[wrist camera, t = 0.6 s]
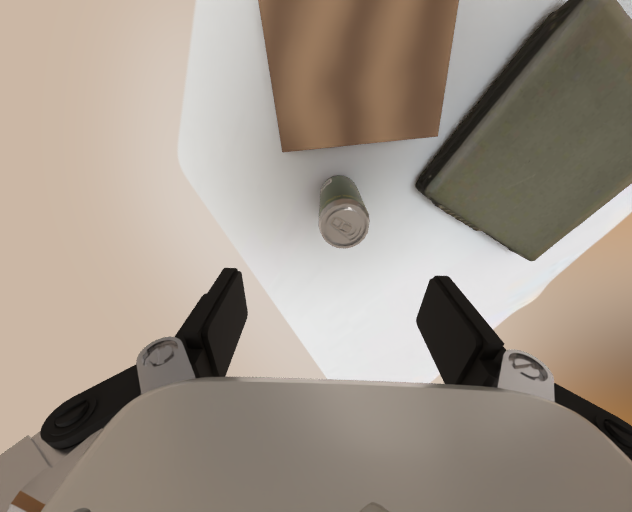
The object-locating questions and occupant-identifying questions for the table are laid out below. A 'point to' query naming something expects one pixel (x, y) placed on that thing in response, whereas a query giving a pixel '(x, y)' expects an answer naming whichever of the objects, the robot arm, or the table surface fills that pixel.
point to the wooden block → (357, 69)
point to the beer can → (342, 213)
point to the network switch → (545, 134)
